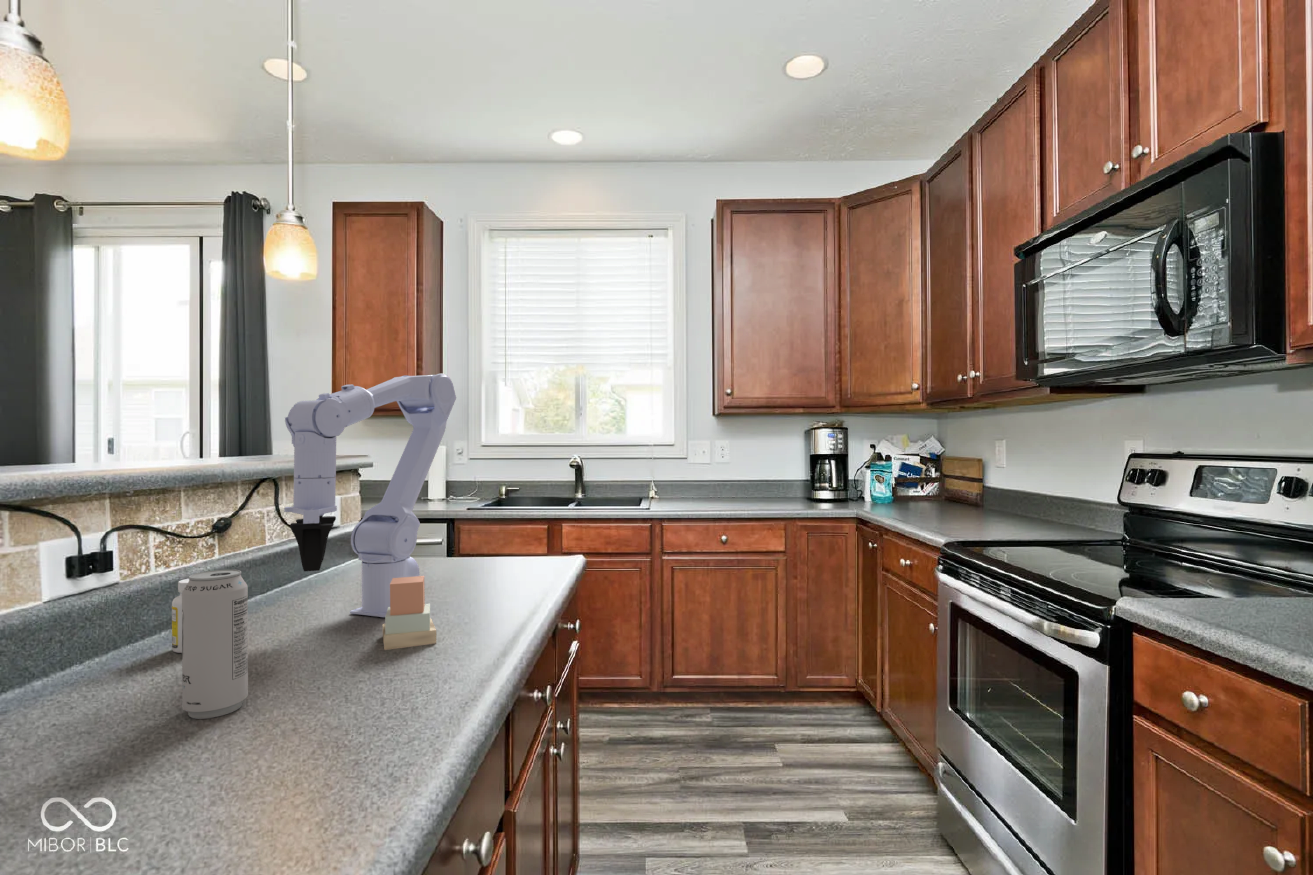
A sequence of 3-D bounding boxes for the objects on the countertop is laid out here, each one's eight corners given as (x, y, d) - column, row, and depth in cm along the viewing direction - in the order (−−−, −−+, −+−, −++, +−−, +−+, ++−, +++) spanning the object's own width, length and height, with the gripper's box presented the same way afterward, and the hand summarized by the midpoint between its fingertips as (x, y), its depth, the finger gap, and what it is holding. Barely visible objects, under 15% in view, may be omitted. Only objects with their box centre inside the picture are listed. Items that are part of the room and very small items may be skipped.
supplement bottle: (227, 642, 95) (226, 576, 96) (197, 654, 90) (197, 584, 90) (193, 641, 96) (192, 575, 96) (161, 653, 91) (161, 583, 91)
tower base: (382, 640, 98) (382, 623, 98) (431, 634, 101) (431, 618, 101) (384, 654, 92) (384, 636, 92) (436, 646, 95) (436, 629, 95)
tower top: (388, 623, 98) (388, 607, 98) (430, 619, 100) (430, 603, 100) (385, 634, 92) (385, 617, 92) (429, 630, 94) (429, 613, 94)
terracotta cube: (393, 607, 98) (392, 578, 98) (424, 605, 99) (424, 575, 99) (390, 615, 93) (389, 584, 93) (423, 612, 95) (422, 581, 95)
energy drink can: (192, 702, 73) (191, 570, 73) (253, 695, 75) (253, 566, 76) (173, 724, 68) (173, 581, 68) (240, 715, 70) (240, 576, 70)
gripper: (289, 476, 104) (288, 561, 104) (279, 479, 91) (277, 576, 91) (338, 476, 107) (337, 558, 107) (335, 479, 94) (334, 572, 94)
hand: (313, 566), depth 99 cm, fingers open, 7 cm apart
